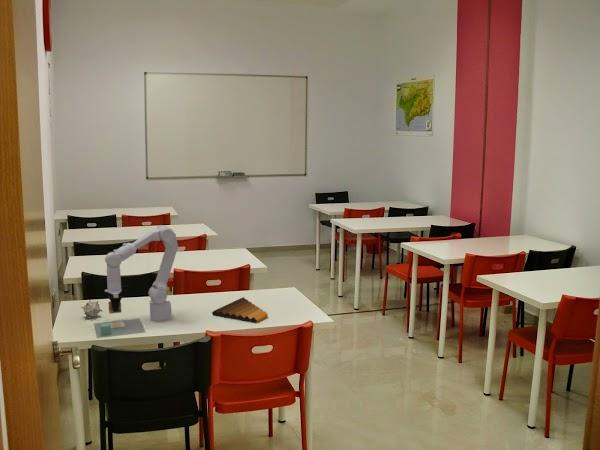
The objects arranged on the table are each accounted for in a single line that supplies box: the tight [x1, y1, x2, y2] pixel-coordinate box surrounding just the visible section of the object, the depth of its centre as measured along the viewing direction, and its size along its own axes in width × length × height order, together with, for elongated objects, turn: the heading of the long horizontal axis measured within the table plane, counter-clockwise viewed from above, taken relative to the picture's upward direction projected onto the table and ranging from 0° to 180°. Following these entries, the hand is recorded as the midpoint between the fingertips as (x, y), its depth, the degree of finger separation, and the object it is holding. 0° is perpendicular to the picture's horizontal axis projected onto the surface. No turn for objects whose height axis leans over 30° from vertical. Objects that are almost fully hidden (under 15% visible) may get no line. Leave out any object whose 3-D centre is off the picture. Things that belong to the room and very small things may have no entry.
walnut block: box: [108, 301, 122, 314], centre depth 267 cm, size 5×5×4 cm
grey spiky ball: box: [81, 299, 103, 320], centre depth 281 cm, size 9×8×10 cm
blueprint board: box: [93, 318, 146, 339], centre depth 265 cm, size 20×20×1 cm
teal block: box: [100, 323, 111, 336], centre depth 257 cm, size 4×4×4 cm
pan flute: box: [211, 296, 268, 324], centre depth 291 cm, size 25×3×25 cm
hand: (115, 309), depth 267 cm, fingers closed on walnut block, 5 cm apart
